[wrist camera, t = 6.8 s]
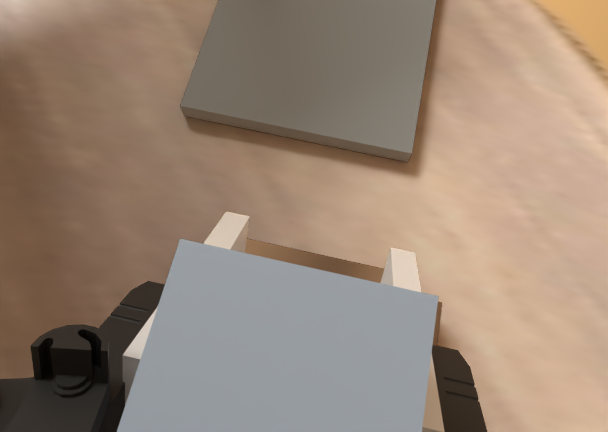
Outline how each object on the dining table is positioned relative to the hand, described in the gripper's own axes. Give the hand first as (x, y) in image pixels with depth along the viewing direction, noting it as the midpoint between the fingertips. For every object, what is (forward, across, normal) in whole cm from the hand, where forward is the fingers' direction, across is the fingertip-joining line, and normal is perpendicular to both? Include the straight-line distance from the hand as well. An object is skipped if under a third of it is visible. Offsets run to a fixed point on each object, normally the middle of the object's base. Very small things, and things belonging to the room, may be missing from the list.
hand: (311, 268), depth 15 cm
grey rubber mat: (+10, -2, +6) cm, 12 cm away
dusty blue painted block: (0, 0, -5) cm, 5 cm away
